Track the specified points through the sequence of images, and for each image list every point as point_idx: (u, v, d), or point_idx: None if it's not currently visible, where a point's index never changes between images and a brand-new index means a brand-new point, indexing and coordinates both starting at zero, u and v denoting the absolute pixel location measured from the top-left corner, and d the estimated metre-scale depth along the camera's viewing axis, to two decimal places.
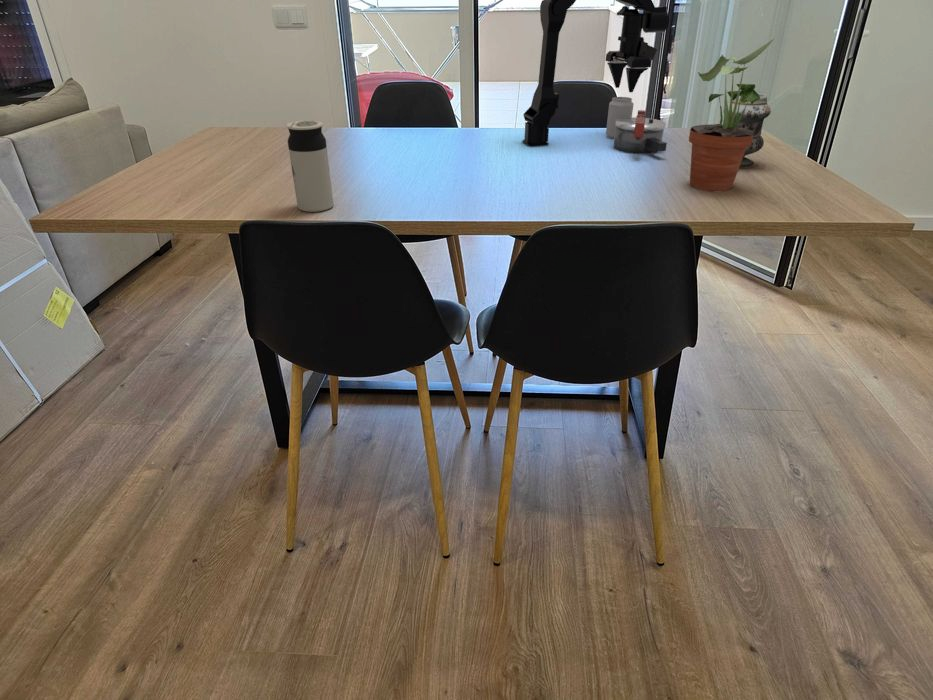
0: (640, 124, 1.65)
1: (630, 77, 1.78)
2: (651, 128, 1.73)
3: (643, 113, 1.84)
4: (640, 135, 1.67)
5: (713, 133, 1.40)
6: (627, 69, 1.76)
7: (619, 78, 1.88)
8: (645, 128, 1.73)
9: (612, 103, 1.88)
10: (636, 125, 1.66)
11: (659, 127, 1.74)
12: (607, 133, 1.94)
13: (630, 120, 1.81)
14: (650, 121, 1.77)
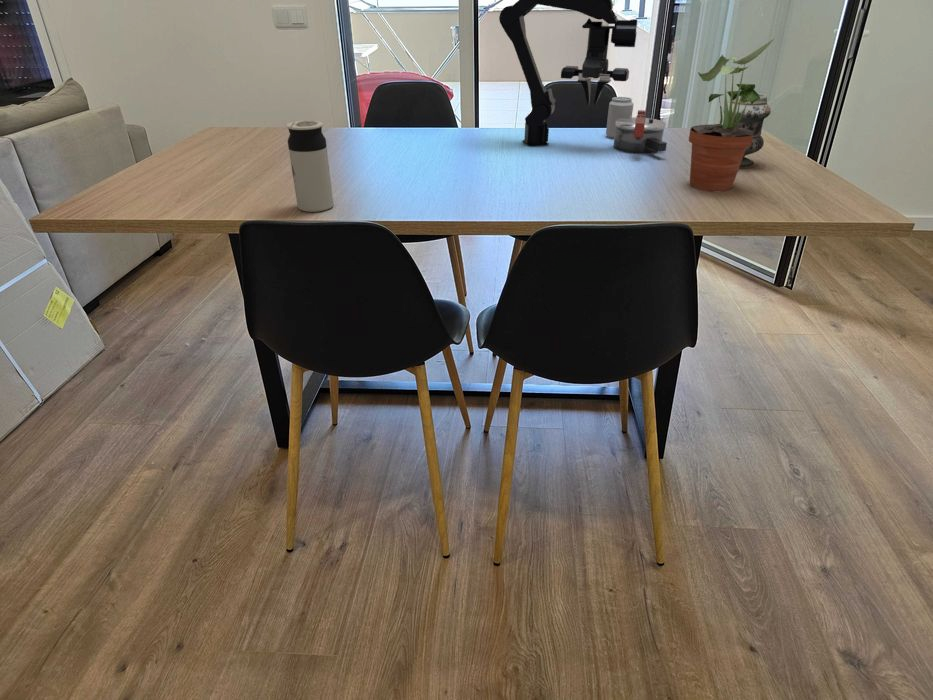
0: (640, 124, 1.65)
1: None
2: (651, 128, 1.73)
3: (643, 113, 1.84)
4: (640, 135, 1.67)
5: (713, 133, 1.40)
6: None
7: None
8: (645, 128, 1.73)
9: (612, 103, 1.88)
10: (636, 125, 1.66)
11: (659, 127, 1.74)
12: (607, 133, 1.94)
13: (630, 120, 1.81)
14: (650, 121, 1.77)
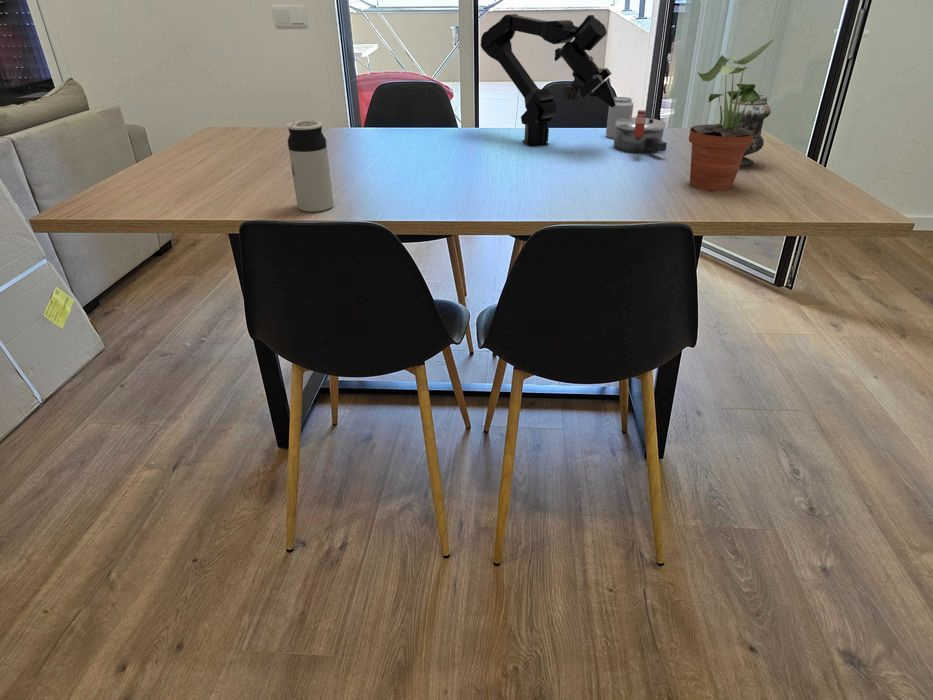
0: (640, 124, 1.65)
1: None
2: (651, 128, 1.73)
3: (643, 113, 1.84)
4: (640, 135, 1.67)
5: (713, 133, 1.40)
6: (609, 79, 1.68)
7: None
8: (645, 128, 1.73)
9: None
10: (636, 125, 1.66)
11: (659, 127, 1.74)
12: (607, 133, 1.94)
13: (630, 120, 1.81)
14: (650, 121, 1.77)
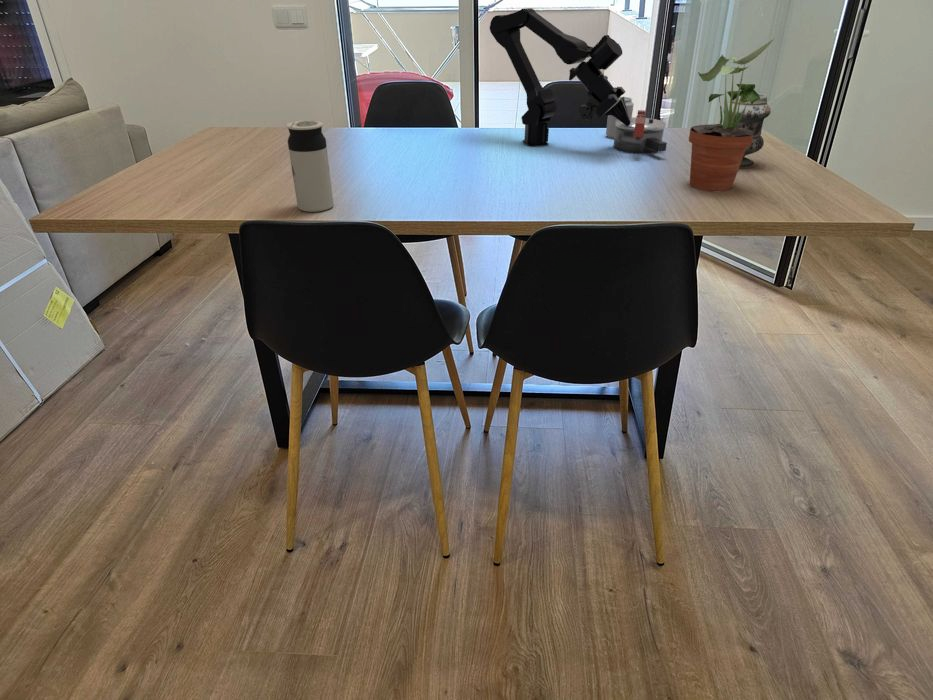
0: (640, 124, 1.65)
1: None
2: (651, 128, 1.73)
3: (643, 113, 1.84)
4: (640, 135, 1.67)
5: (713, 133, 1.40)
6: (623, 98, 1.69)
7: None
8: (645, 128, 1.73)
9: None
10: (636, 125, 1.66)
11: (659, 127, 1.74)
12: (607, 133, 1.94)
13: (630, 120, 1.81)
14: (650, 121, 1.77)
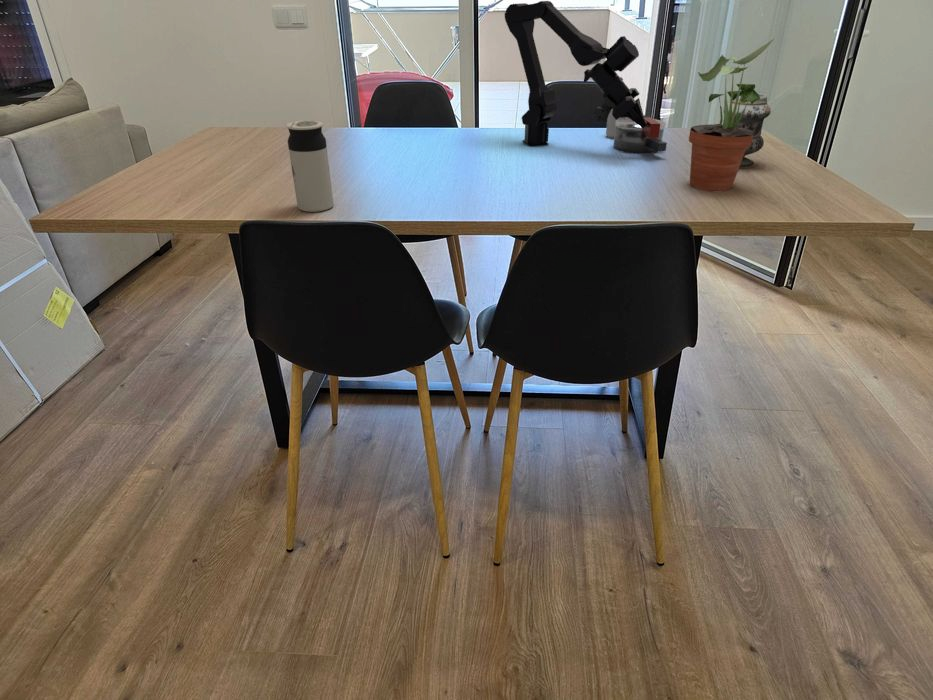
0: (656, 124, 1.65)
1: None
2: None
3: None
4: (656, 135, 1.66)
5: (713, 133, 1.40)
6: (639, 99, 1.68)
7: None
8: None
9: None
10: (652, 126, 1.65)
11: (663, 126, 1.75)
12: (607, 133, 1.94)
13: (629, 121, 1.80)
14: None
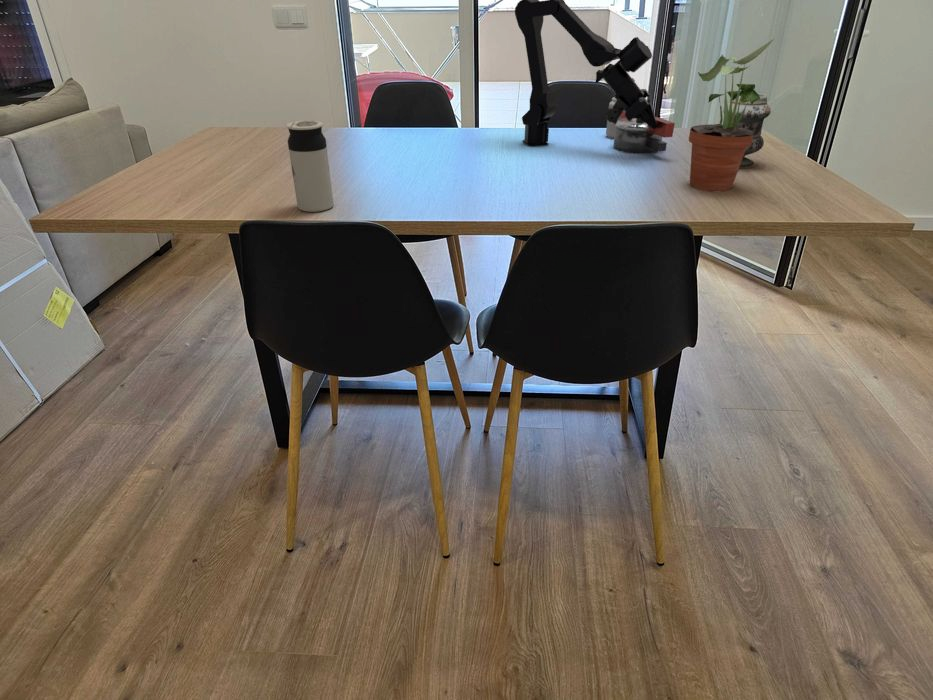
0: (670, 124, 1.65)
1: None
2: None
3: None
4: (670, 135, 1.67)
5: (713, 133, 1.40)
6: (650, 101, 1.68)
7: None
8: None
9: (612, 103, 1.88)
10: (667, 125, 1.65)
11: None
12: (607, 133, 1.94)
13: (628, 121, 1.79)
14: None
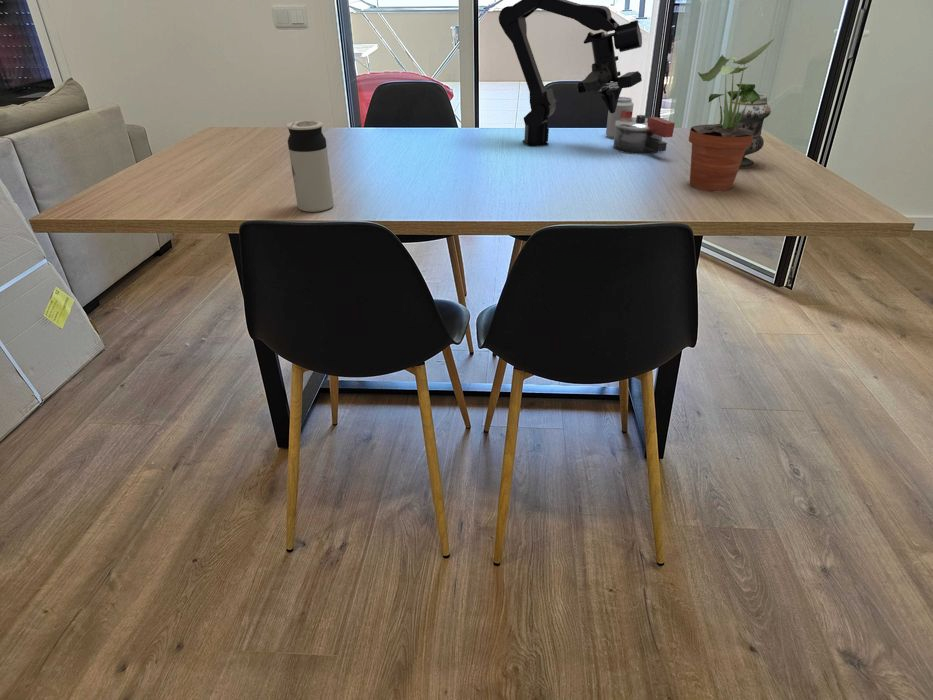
0: (670, 124, 1.65)
1: None
2: None
3: (630, 113, 1.84)
4: (670, 135, 1.67)
5: (713, 133, 1.40)
6: None
7: None
8: None
9: None
10: (667, 125, 1.65)
11: None
12: (607, 133, 1.94)
13: (628, 121, 1.79)
14: None
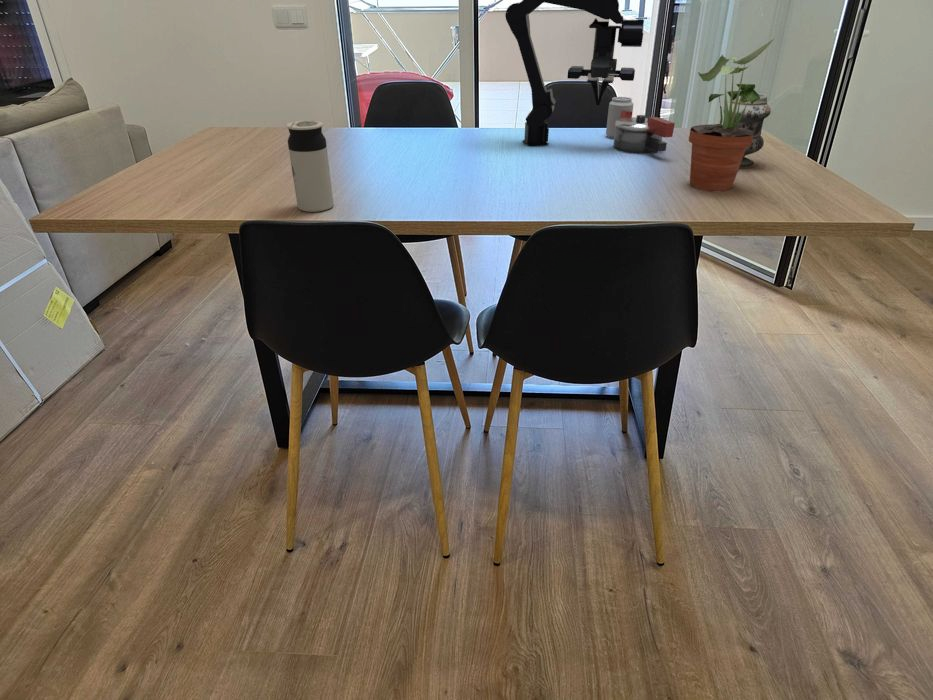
0: (670, 124, 1.65)
1: None
2: None
3: (630, 113, 1.84)
4: (670, 135, 1.67)
5: (713, 133, 1.40)
6: None
7: (599, 95, 1.76)
8: None
9: (612, 103, 1.88)
10: (667, 125, 1.65)
11: None
12: (607, 133, 1.94)
13: (628, 121, 1.79)
14: None
